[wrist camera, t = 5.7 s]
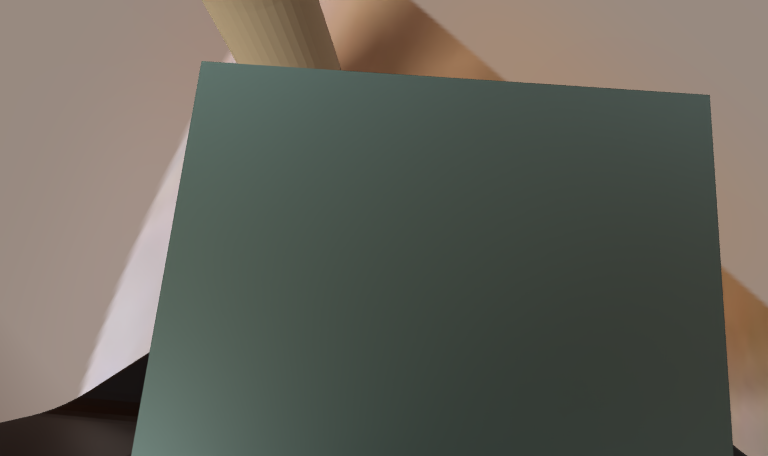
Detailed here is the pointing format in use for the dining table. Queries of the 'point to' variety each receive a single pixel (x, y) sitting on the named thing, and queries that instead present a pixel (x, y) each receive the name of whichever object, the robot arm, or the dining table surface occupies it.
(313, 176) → the teal green tall block
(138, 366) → the robot arm
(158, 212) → the dining table surface
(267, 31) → the handle
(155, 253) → the dining table surface
